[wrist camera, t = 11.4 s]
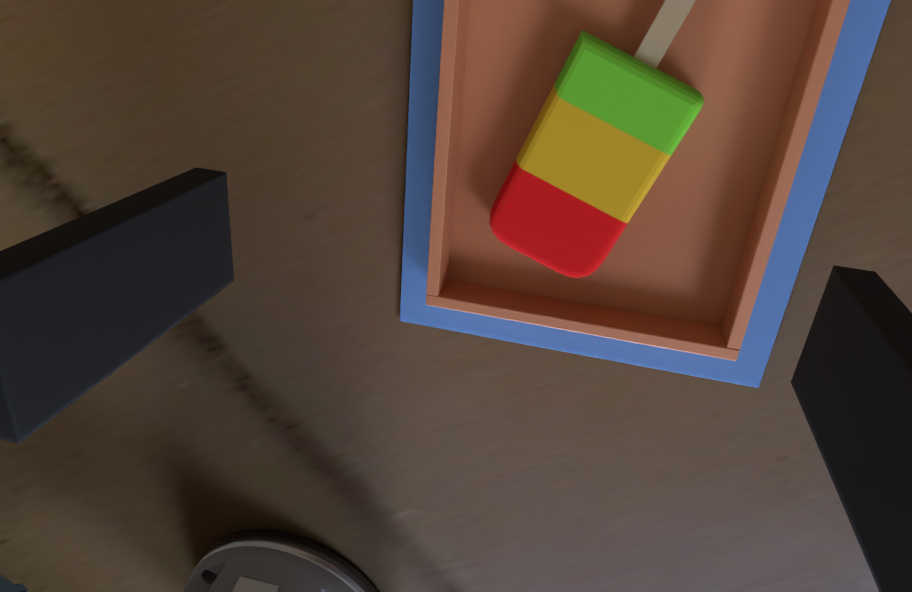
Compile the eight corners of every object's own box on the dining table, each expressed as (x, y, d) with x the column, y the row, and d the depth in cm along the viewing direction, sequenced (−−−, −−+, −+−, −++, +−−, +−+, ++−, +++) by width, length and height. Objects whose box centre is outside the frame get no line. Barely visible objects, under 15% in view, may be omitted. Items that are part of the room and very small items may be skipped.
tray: (729, 334, 31) (736, 362, 29) (438, 284, 34) (425, 305, 31) (888, -189, 22) (916, -207, 20) (472, -205, 25) (457, -222, 22)
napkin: (757, 384, 32) (758, 388, 32) (401, 318, 35) (399, 321, 35) (983, -281, 21) (988, -284, 20) (427, -289, 24) (425, -292, 24)
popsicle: (484, 220, 31) (476, 234, 29) (662, -127, 24) (665, -134, 22) (588, 275, 31) (586, 292, 29) (798, -56, 24) (811, -58, 22)
